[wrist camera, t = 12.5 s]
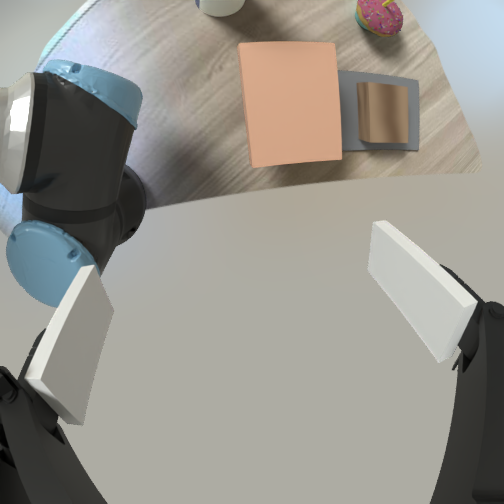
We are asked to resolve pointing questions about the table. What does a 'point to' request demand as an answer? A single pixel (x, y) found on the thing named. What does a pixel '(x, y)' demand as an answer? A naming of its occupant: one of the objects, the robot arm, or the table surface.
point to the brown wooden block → (382, 112)
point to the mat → (350, 110)
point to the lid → (290, 102)
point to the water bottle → (219, 7)
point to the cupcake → (379, 17)
